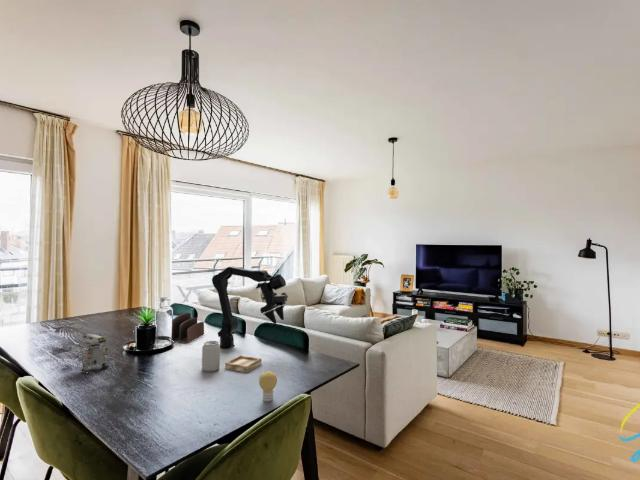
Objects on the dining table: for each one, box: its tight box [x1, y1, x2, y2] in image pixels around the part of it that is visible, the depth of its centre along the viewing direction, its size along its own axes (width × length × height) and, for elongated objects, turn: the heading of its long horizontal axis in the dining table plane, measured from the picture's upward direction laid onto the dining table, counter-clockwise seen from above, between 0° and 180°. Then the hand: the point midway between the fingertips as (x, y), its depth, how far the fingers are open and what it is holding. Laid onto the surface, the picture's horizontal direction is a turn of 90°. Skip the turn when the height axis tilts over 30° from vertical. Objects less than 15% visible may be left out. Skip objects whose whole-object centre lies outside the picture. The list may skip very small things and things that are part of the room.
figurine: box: [76, 333, 109, 373], centre depth 150 cm, size 9×12×15 cm
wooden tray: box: [224, 355, 262, 373], centre depth 155 cm, size 12×12×2 cm
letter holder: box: [170, 312, 205, 344], centre depth 200 cm, size 10×20×14 cm, turn 173°
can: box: [201, 340, 221, 373], centre depth 151 cm, size 8×8×12 cm
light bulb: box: [258, 371, 278, 403], centre depth 122 cm, size 6×6×10 cm
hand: (279, 321), depth 175 cm, fingers open, 9 cm apart
